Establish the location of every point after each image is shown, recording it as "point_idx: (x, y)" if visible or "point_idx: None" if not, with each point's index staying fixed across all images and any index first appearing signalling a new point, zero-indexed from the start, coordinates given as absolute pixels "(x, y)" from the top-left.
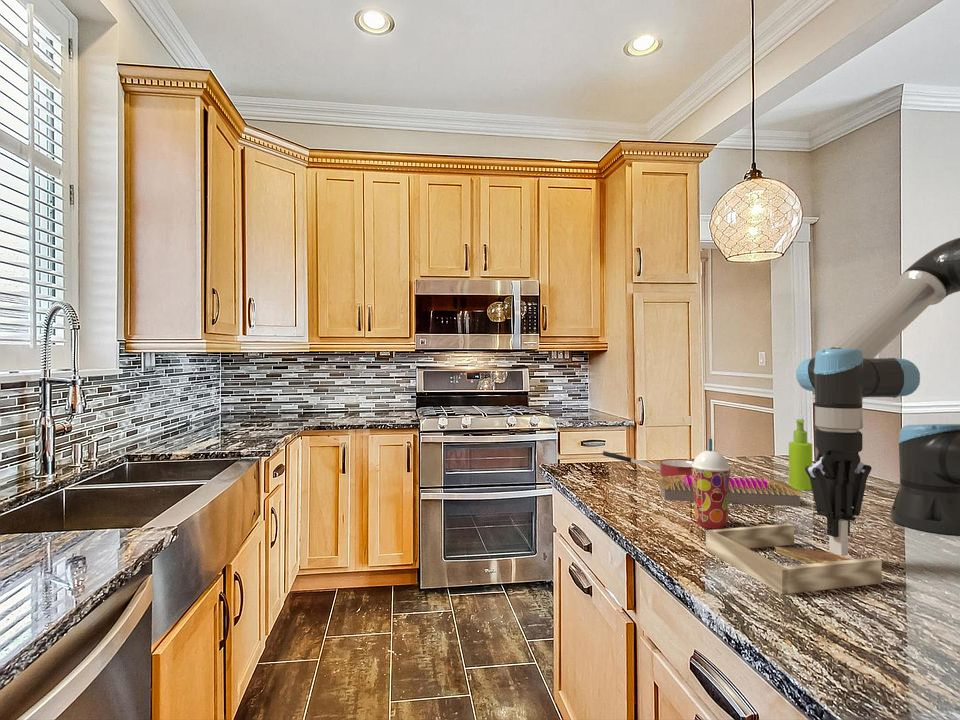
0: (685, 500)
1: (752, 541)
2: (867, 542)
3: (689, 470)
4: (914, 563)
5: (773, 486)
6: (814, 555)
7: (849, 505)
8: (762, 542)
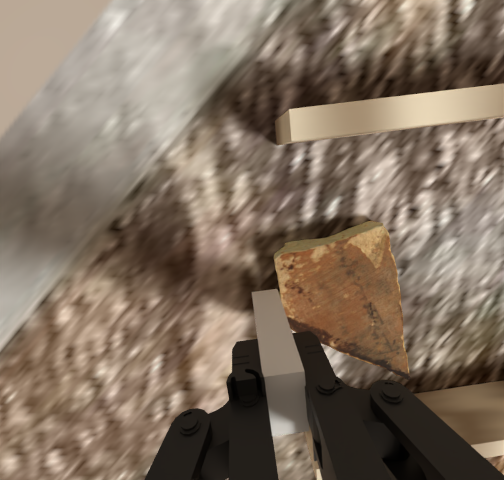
0: None
1: (449, 406)
2: (68, 418)
3: None
4: (39, 260)
5: None
6: (362, 295)
7: (254, 466)
8: None
